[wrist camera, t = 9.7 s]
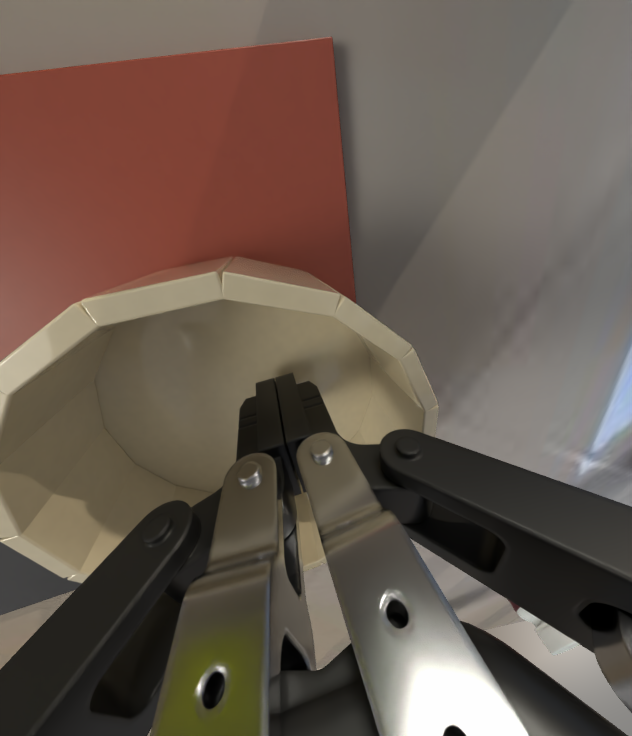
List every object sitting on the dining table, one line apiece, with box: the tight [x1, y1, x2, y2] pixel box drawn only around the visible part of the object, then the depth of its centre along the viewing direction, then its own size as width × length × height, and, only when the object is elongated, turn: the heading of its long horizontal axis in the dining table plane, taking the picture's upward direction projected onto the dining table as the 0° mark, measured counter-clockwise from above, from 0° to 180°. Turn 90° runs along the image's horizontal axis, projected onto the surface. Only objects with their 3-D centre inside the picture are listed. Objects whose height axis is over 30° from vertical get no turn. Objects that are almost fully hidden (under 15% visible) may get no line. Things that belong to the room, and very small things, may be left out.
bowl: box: [0, 256, 439, 583], centre depth 9 cm, size 12×12×4 cm
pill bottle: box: [507, 599, 580, 655], centre depth 21 cm, size 5×5×8 cm
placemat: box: [0, 37, 356, 615], centre depth 10 cm, size 26×20×1 cm
